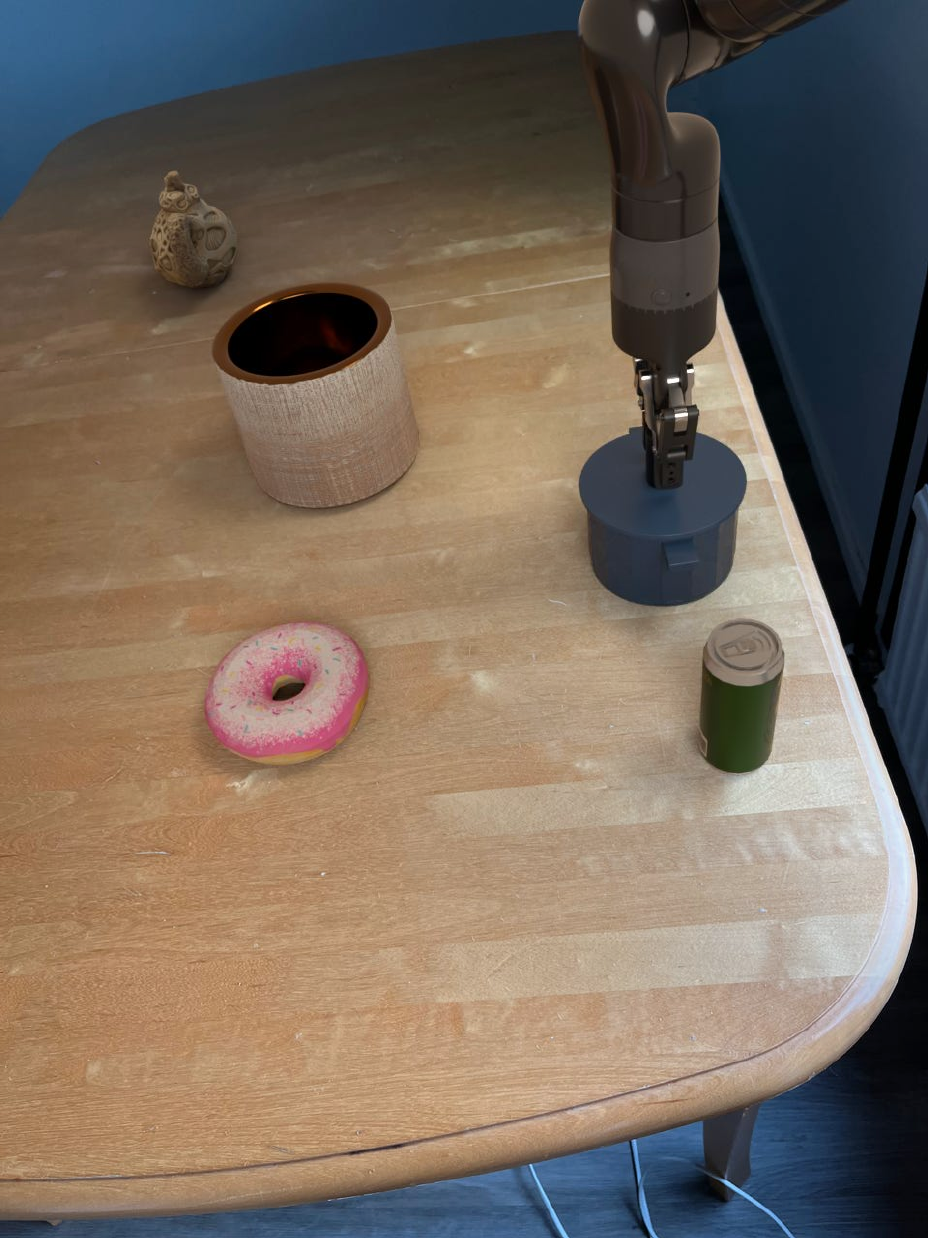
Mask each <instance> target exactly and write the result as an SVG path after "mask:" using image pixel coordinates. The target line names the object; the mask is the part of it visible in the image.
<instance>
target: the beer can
mask: <svg viewBox="0 0 928 1238" xmlns="http://www.w3.org/2000/svg"><path fill="white" fill-rule="evenodd" d="M702 648H703V649H702V663H701V665H702V666H701V683H700V703H699V704H700V705H699V721H698V739H697V746H698V749H699V753H700V755H701V756H702V757H703V758H704V760H705V761H706V762H707V764H708V765H709V766H710V767H712V768H713V769H714V770H715V771H717V772H719V773H722V774H725V775H727V776H738V777H739V776H745V775H750V774H751V773H754V772H755V771H757V770H758V769H760V768H761V767H762V766H763V765H764V764H765V763H766V762H767V761H768V760H769V759H770V756H771V753H772V750H773V743H774V736H775V729H776V723H777V717H778V709H779V701H780V696H781V689H782V683H783V674H784V668H785V651H784V648H783V641H782V639H781V636H780V635H779V634H778V632H776V630H775V629H773V627H772V626H770V625H768V624H766V623H764V622H763V621H760V620H756V619H753V618H743V617H738V618H732V619H728V620H726V621H723V622H721V623H719V624H718V625H716V626H715V627H713V629H712V630H711V631H710V633H709V634H708V637H707V640H706V642H705V644H704V645H703V647H702Z"/></svg>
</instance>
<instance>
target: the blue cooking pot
mask: <svg viewBox="0 0 928 1238" xmlns="http://www.w3.org/2000/svg"><path fill="white" fill-rule="evenodd" d="M636 431H642V425H639V426H632V427H629V428H628V434H629V433H633V432H636ZM739 509H740V506H739V507H738V509H737V510H736V511H735V512H734V514H732V515H731V516H730V517H729V518H728V519H727V520H725V521H724V522H723V523H721V524H720V525H718V526H716V527H714V528H712V529H710V530H708V531H705V532H703V533H700V534H697V535H693V536H690V537H685V538H680V539H670V540H651V539H641V538H636V537H631V536H628V535H624V534H621V533H618V532H616V531H613V530H611V529H609V528H608V527H606V526H604V525H602V524H601V523H600V522H598V521H597V520H596V519H595V518H593V517H592V516H591V515H590V513H589V512H588V511H587V510H586V525H587V537H588V540H587V541H588V553H589V556H590V565H591V568H592V571H593V574H594V575H595V578H596V579H597V580H598V582H599V583H600V584H601V585H602V586H604V588H605V589H606V590H607V591H609V592H610V593H612V594H613V595H614V596H616V597H618V598H620V599H622V600H625V601H627V602H630V603H633V604H637V605H640V606H641V605H642V606H647V607H657V608H658V607H659V608H660V607H663V608H664V607H665V608H666V607H675V606H681V605H686V604H689V603H693V602H696V601H698V600H701V599H703V598H705V597H707V596H708V595H710V594H712V593H713V592H715V591H716V590H717V589H718V588H719V587H720V586H722V585H723V583H724V582H725V581H726V579H727V578H728V576H729V574H730V573H731V571H732V567H733V565H734V558H735V553H736V546H737V533H738V523H739V522H738V521H739Z"/></svg>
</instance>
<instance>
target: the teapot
mask: <svg viewBox="0 0 928 1238" xmlns="http://www.w3.org/2000/svg"><path fill="white" fill-rule="evenodd" d="M163 181H164V184H165V187H164V189H163V190H161V192H160V193H159V198H158V203H159V205H160V208H161V209H160V210H159V212H158V214H157V215H156V217H155V221H154V224H153V226H152V229H151V235H150V237H149V244H148V247H149V250H150V253H151V258H152V261H153V266H154V270H155V271H156V272H157V274H158V275H160V276H161V278H163V279H164V280H166V281H168V282H169V283H172V284H176V285H178V286H179V285H180V286H182V287H186V288H190V289H193V290H194V289H195V290H196V289H203V288H208V287H213V286H216V285H219V284H220V283H221V282H222V281H224V279H225V277H226V276H227V275H228V274H229V272H230V271H231V269H232V267H233V264H234V262H235V261H236V258H237V256H238V254H239V238H238V234H237V233H236V230H235V228H234V226H233V224H232V222H231V220H230V219H229V217H228V216H226V214H225V213H224V212H223V211H222V210H220V209H218V208H217V207H216V206H212V205H209V204H208V203H207V202H206V201H205V200H204V199H203V198H202V197H201V194H200V192H199V191H198V188H197V187H196V185H193V184H190V183H184V182H183V181H182V179H181V177H180V175H179V172H178V171H177V170H172V171H169V172H168V173H167V174H166V176H165V177H164V178H163Z"/></svg>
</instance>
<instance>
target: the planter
mask: <svg viewBox="0 0 928 1238" xmlns="http://www.w3.org/2000/svg"><path fill="white" fill-rule="evenodd" d="M399 343H400V342H399V339H398V335H397V329H396V325H395V319H394V315H393V311H392V309H391V306H390V304H389V302H388V301H387V300H386V299H385V298H384V297H383V296H382V295H381V294H379V293H378V292H376V291H375V290H372V289H370V288H368V287H365V286H362V285H359V284H355V283H354V284H353V283H348V282H340V281H339V282H337V281H323V282H322V281H321V282H311V283H304V284H303V283H302V284H299V285H294V286H290V287H286V288H283V289H279V290H276V291H273V292H271V293H268V294H265V295H263V296H261V297H258V298H257V299H254V300H253V301H250V302H249V303H247V304H246V305H243V307H241V308H239V309H237V310H236V311H235V312H234V313H233V314H232V315H231V316H229V317H228V318H227V319H226V320H225V321H224V322H223V323H222V325H220V327H219V328H218V330H217V332H216V333H215V334H214V337H213V340H212V343H211V356H212V360H213V363H214V366H215V368H216V369H215V370H216V372H217V374H218V378H219V380H220V383H221V386H222V388H223V391H224V394H225V397H226V399H227V403H228V405H229V408H230V411H231V414H232V417H233V420H234V423H235V426H236V429H237V432H238V436H239V438H240V441H241V443H242V446H243V449H244V452H245V455H246V458H247V462H248V464H249V466H250V469H251V472H252V475H253V476H254V479H255V481H256V483H257V485H258V486H259V487H260V488H261V490H262V491H263V492H264V493H265V494H267V495H268V496H269V497H271V498H272V499H274V500H276V501H277V502H279V503H283V504H284V505H289V506H292V507H296V508H301V509H311V510H312V509H313V510H314V509H319V510H321V509H334V508H339V507H345V506H349V505H354V504H357V503H360V502H362V501H365V500H367V499H370V498H372V497H374V496H376V495H378V494H380V493H382V492H383V491H384V490H386V489H388V488H389V487H390V486H392V485H394V484H395V483H396V482H397V481H399V479H400V478H401V477H402V476H403V475H404V474H405V473H406V472H407V471H408V470H409V468H411V465H412V464H413V462H414V460H415V459H416V455H417V453H418V449H419V440H420V439H419V430H418V424H417V420H416V415H415V410H414V406H413V401H412V396H411V392H410V388H409V384H408V380H407V375H406V371H405V365H404V362H403V357H402V353H401V348H400V344H399Z"/></svg>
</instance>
